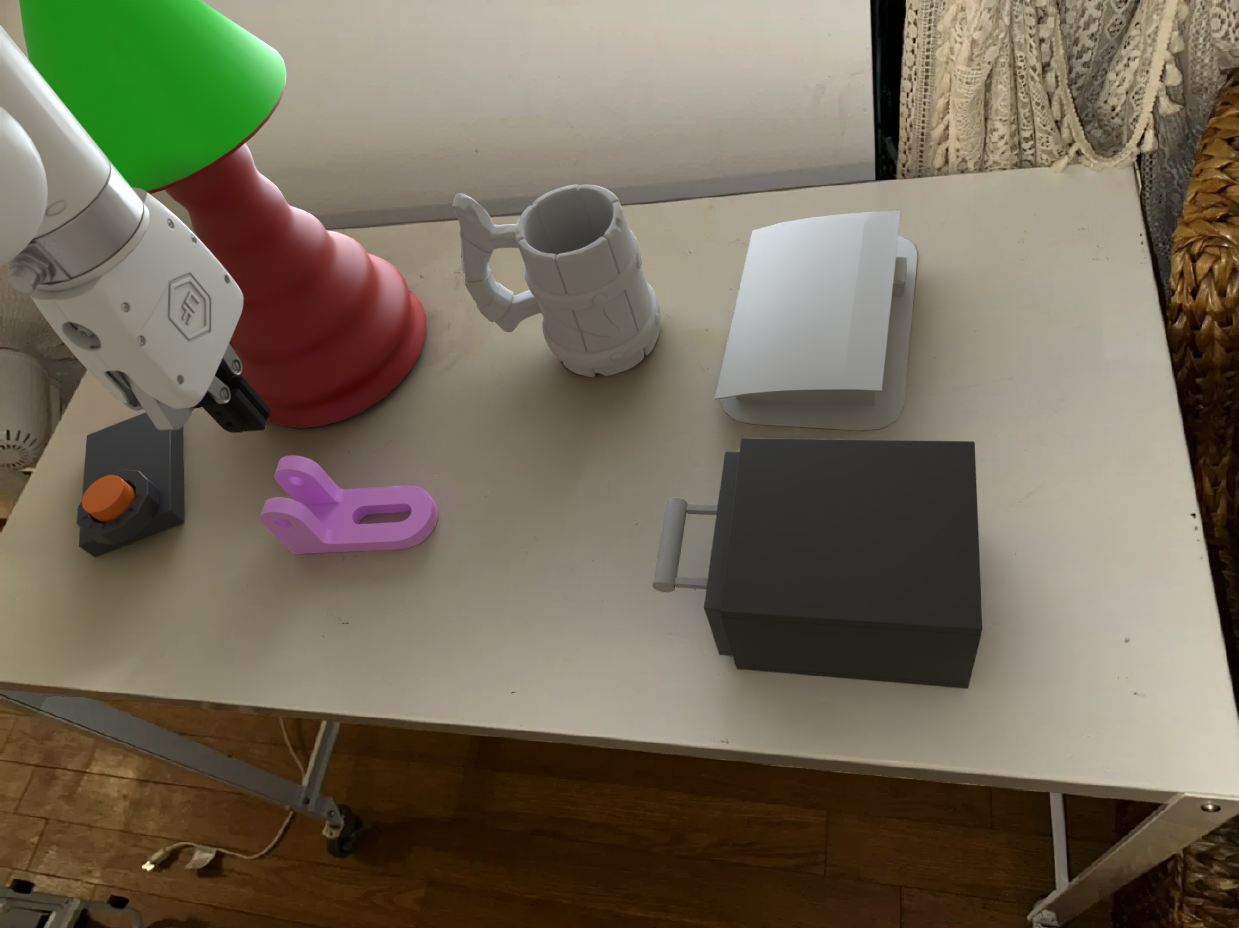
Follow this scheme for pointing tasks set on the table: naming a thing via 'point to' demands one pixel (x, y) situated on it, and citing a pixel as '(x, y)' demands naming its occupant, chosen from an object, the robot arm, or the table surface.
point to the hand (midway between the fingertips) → (250, 421)
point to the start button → (108, 498)
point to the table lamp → (232, 194)
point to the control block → (134, 482)
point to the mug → (567, 277)
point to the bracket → (343, 512)
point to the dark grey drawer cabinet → (855, 560)
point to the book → (822, 324)
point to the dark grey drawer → (713, 584)
